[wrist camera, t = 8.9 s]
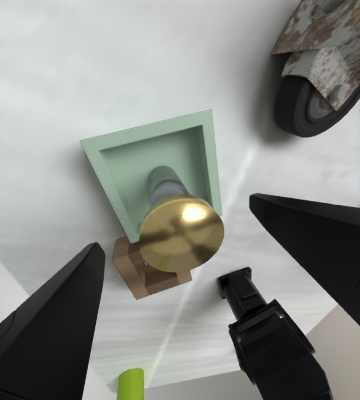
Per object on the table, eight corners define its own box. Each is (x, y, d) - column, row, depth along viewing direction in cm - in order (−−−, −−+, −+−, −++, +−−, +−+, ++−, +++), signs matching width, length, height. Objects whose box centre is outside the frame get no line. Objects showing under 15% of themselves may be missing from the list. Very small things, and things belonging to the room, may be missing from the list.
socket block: (186, 260, 24) (192, 280, 21) (137, 277, 23) (136, 299, 20) (175, 221, 20) (180, 238, 17) (116, 239, 19) (111, 260, 16)
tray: (211, 203, 20) (222, 214, 18) (132, 227, 19) (130, 243, 17) (200, 112, 15) (212, 108, 13) (91, 138, 14) (79, 140, 12)
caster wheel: (285, 136, 21) (236, 102, 17) (369, 31, 15) (331, -65, 11) (333, 155, 16) (283, 115, 12) (481, 12, 11) (498, -176, 6)
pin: (186, 192, 18) (226, 257, 9) (149, 202, 17) (154, 281, 8) (178, 154, 15) (220, 191, 7) (136, 165, 15) (124, 219, 6)
